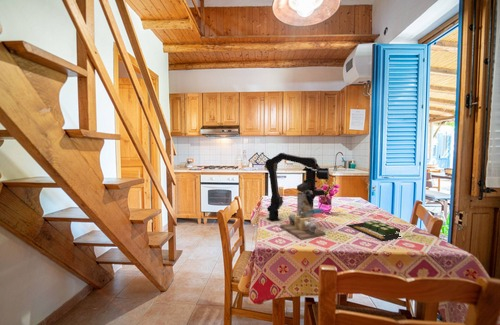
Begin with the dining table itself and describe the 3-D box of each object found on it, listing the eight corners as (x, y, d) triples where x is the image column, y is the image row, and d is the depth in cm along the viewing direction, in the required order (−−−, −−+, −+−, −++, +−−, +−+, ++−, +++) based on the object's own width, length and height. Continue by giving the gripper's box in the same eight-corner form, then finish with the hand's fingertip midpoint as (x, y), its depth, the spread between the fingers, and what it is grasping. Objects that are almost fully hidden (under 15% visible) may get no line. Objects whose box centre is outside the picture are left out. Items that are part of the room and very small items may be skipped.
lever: (301, 216, 126) (301, 212, 126) (298, 214, 129) (298, 211, 129) (322, 213, 132) (322, 209, 132) (318, 211, 135) (318, 208, 135)
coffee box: (308, 214, 161) (309, 191, 160) (313, 216, 155) (314, 193, 154) (296, 215, 159) (297, 192, 158) (301, 217, 153) (301, 194, 152)
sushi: (345, 226, 138) (346, 220, 138) (376, 222, 147) (376, 216, 147) (382, 243, 115) (383, 235, 115) (416, 236, 124) (416, 229, 124)
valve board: (279, 227, 134) (280, 211, 134) (301, 223, 141) (302, 208, 140) (301, 240, 116) (301, 222, 116) (325, 235, 123) (325, 218, 122)
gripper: (290, 177, 141) (289, 202, 142) (310, 181, 124) (309, 209, 125) (304, 176, 146) (304, 200, 147) (325, 180, 129) (325, 207, 130)
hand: (309, 204), depth 137 cm, fingers closed
